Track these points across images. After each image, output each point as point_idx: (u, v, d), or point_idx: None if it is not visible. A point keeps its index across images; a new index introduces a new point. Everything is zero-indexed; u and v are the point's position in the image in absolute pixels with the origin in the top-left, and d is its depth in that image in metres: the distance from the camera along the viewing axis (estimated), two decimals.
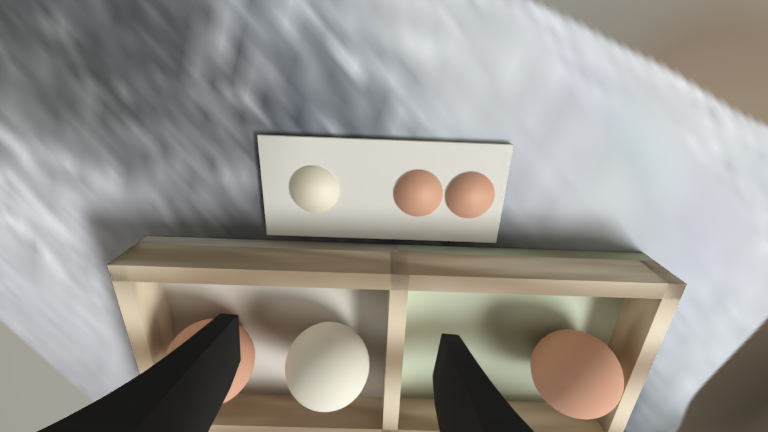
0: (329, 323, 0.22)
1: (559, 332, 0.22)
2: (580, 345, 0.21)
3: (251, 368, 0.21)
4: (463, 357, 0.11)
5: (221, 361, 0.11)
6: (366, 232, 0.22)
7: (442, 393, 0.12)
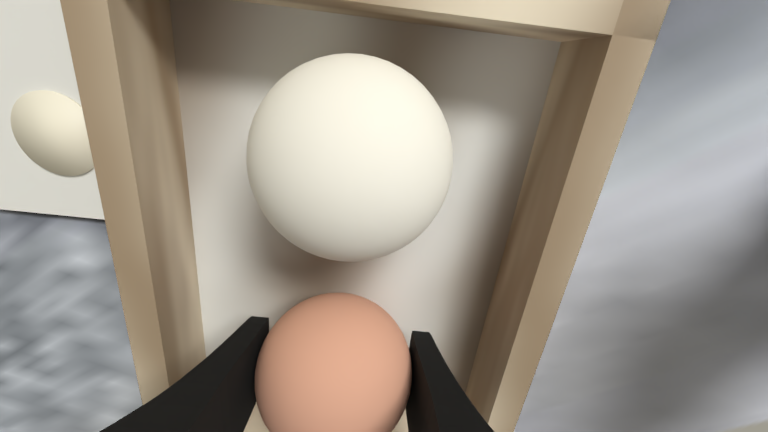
0: None
1: None
2: None
3: (347, 314, 0.11)
4: (430, 354, 0.11)
5: (255, 364, 0.11)
6: None
7: (410, 390, 0.12)
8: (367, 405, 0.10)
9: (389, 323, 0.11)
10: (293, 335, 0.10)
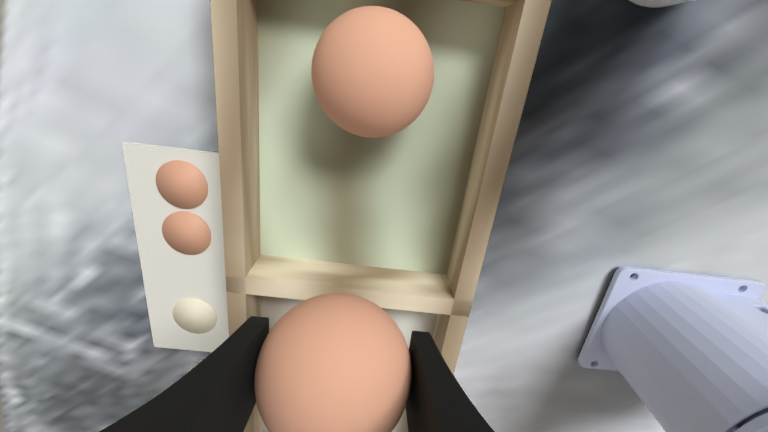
0: None
1: None
2: (312, 80, 0.15)
3: (347, 314, 0.11)
4: (430, 354, 0.11)
5: (254, 363, 0.11)
6: None
7: (411, 391, 0.12)
8: (367, 405, 0.10)
9: (389, 324, 0.11)
10: (293, 336, 0.10)
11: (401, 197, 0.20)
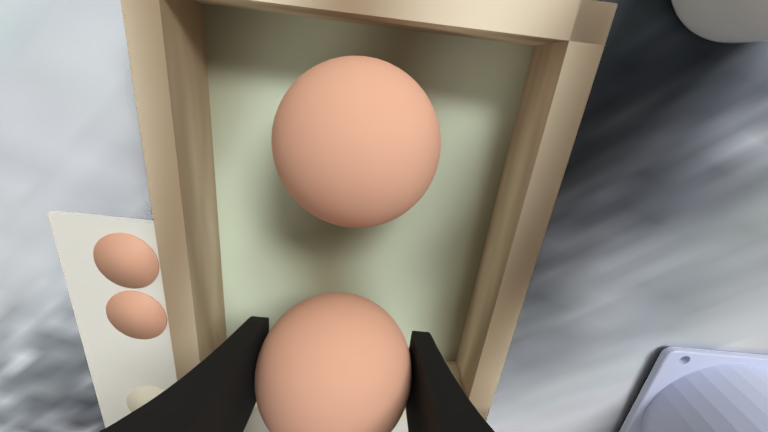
0: None
1: None
2: None
3: (347, 314, 0.11)
4: (430, 354, 0.11)
5: (255, 364, 0.11)
6: None
7: (410, 391, 0.12)
8: (367, 405, 0.10)
9: (389, 323, 0.11)
10: (293, 335, 0.10)
11: (399, 276, 0.16)
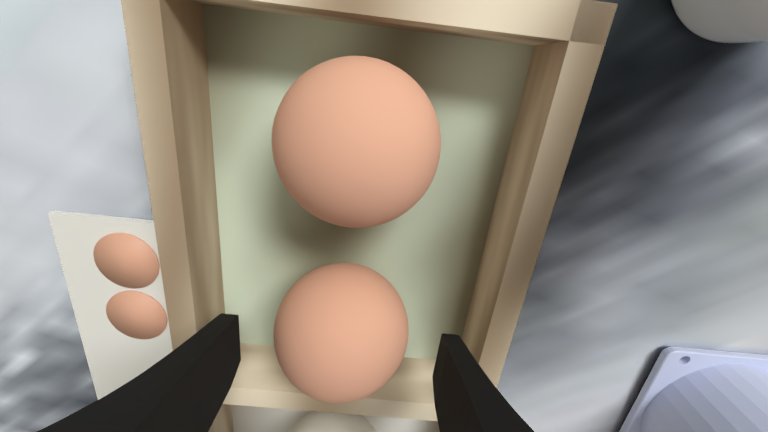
0: None
1: None
2: None
3: (353, 277, 0.12)
4: (463, 357, 0.11)
5: (221, 361, 0.11)
6: None
7: (442, 393, 0.12)
8: (371, 349, 0.11)
9: (388, 286, 0.13)
10: (307, 294, 0.12)
11: (399, 276, 0.16)
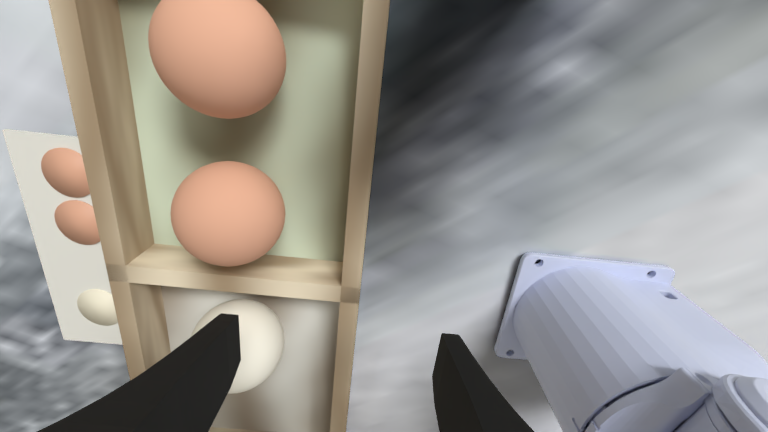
0: None
1: None
2: None
3: (231, 165, 0.16)
4: (463, 357, 0.11)
5: (221, 361, 0.11)
6: None
7: (442, 393, 0.12)
8: (236, 212, 0.15)
9: (264, 177, 0.17)
10: (193, 175, 0.16)
11: (289, 183, 0.19)
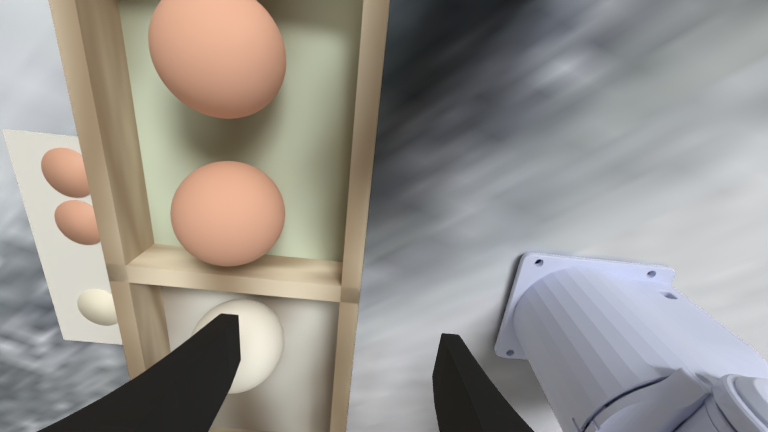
0: None
1: None
2: None
3: (231, 165, 0.16)
4: (463, 357, 0.11)
5: (221, 361, 0.11)
6: None
7: (442, 393, 0.12)
8: (236, 212, 0.15)
9: (264, 177, 0.17)
10: (193, 175, 0.16)
11: (289, 183, 0.19)
